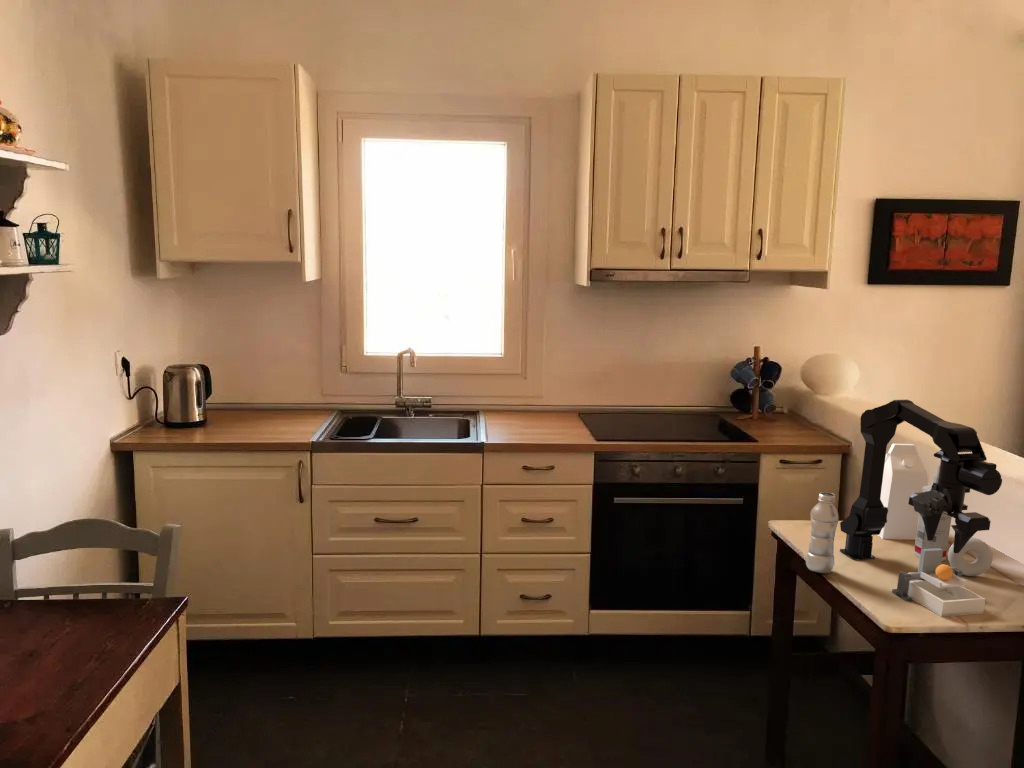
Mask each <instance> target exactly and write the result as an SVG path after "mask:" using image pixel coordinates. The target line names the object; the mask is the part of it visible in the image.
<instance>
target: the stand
mask: <svg viewBox="0 0 1024 768" xmlns="http://www.w3.org/2000/svg"><path fill="white" fill-rule="evenodd" d="M950 568H951V569H952V570H954V571H955V575H956V576H958V577H960V578H962V579H963V575H962V572H963V571H961V570H959V569H957V568H953V567H950ZM908 573H909V572H906V571H905V570H904V571H899V572H898V578H897V586H896V588H892V590H891V593H892V594H893V595H896V596H897V597H899V598H900V599H902V600H904V601H905V602H906V601H909V602H913V599H912V597H910V596H908V590H909V582H910V574H908Z"/></svg>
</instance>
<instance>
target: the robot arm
mask: <svg viewBox="0 0 1024 768" xmlns="http://www.w3.org/2000/svg"><path fill="white" fill-rule="evenodd" d="M905 422H906V423H908V424H909V425H911V426H913V427H914V428H917V430H919V431H921V432H923V433H924V434H926V435H928V436H930V437H931V438H932V442H933V443H934V444H935V445H936V446H937V447H938V448H939V449H940V450H939V451H936V452H935V453H934V454H933V456H934V457H935V458H937V459H940V464H939V465H940V470H939V477H938V483H933V482H932V484H933V485H932V484H931V485H932V488H931V490H930V491H927V492H922V493H913V494H912V495H911V496H910V497H909V503H908V504H909V505H912V506H914V510H915V511H916V512H918V513H919V514H920V515H921V516H922V519H923V522H924V526H925V530H926V535H927V539H928V540H933V538H934V536H935V533H936V530H937V527H938V524H939V521H940V518H941V515H942V513H944V514H946V515H949V516H951V517H952V518H953V519H955V520H954V523H955V524H952V525H950V527H952V529H953V531H954V538H953V543H954V553H959V552H960V551H961V549H962V548H963V547H964V546H965V544H966V543H967V542H968V541H969V539H970V538H971V537H973V536H974V535H975V534H977V532H980V531H990V528H991V523H992V522H991V520H990V518H989V516H985V515H984V514H982V513H979V512H976V511H974V512H973V511H972V512H964V511H968V505H967V504H965V497H966V494H968V493H971V490H973V491H975V492H978V493H981V494H983V495H986V496H992V495H994V494H996V493H997V492H998V491H999V489H1000V488H1002V487H1001V486H1002V483H1003V479H1002V475H1001V473H1000V472H999V471H998V470H997V463H993V462H989V461H987V460H988V459H987V456H986V454H985V453H986V452H985V451H984V449H983V446H982V444H981V441H980V438H979V437H978V432H977V431H976V429H975V428H973V427H971V426H967V425H964V424H961V423H957V422H951V421H947V420H945V419H942V418H941V417H939V416H937V414H933V413H932V412H930V411H928V410H926V409H924V408H923V407H921V406H919V405H917V404H915V403H914V402H913V401H912V400H910V399H893V400H891V401H889V402H888V403H886V404H883V405H879V406H877V407H874V408H872V409H866V410H865V411H864V412H862V413H861V416H860V434H861V435H862V437H863V440H864V441H865V442H864V443H865V446H864V453H863V463H862V470H861V471H862V472H861V479H860V487H859V489H860V490H859V494H858V497H857V499H856V500H855V501H854V502H853V504H852V505H851V507H850V512H849V515H848V516H847V517H845V519H843V520H842V521H841V522H840V523H839V524H840V526H839V527H840V532H842V533H845V534H846V538H845V547H844V548H840V549H839V552H841V553H842V554H844V555H846V556H847V557H848V558H850V559H852V560H854V561H859V560H875V559H876V556H875V555H873V554H872V552H873V551H872V550H873V537H874V536H875V535H876V536H878V535H879V534H880V532H881V530H882V528H884V526H885V523H887V513H888V508H887V507H884V506H883V504H882V502H881V499H880V497H881V489H882V481H883V473H884V465H885V456H886V454H887V447H888V444H889V443H890V442H891V441H892V439H893V438H894V437H895V434H896V431H897V427H898V425H901V424H902V423H905Z"/></svg>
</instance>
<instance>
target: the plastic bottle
mask: <svg viewBox="0 0 1024 768" xmlns="http://www.w3.org/2000/svg"><path fill="white" fill-rule="evenodd" d="M817 501H818V503H817V504H816V505H814V506H813V507H812V508H811V511H810V539H809V544H808V551H807V552H806V553H807V554H806V557H805V565H806V567H807V569H808V570H809V571H812V572H815V573H818V574H829V573H831V572H832V571H833V569H834V566H835V555H834V551H835V550H834V548H835V546H834V544H835V542H834V541H835V537H836V535H835V534H836V530H837V527H838V523H839V519H840V516H839V515H840V514H839V512H838V510H837V508H836V507H835V505H834V504H836V494H834V493H833V492H828V491H827V492H826V491H822V492H821V491H820V492H819V493H818V498H817Z"/></svg>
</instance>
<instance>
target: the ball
mask: <svg viewBox="0 0 1024 768" xmlns="http://www.w3.org/2000/svg"><path fill="white" fill-rule="evenodd" d="M951 568H952V567H950V566H949V565H947V564H945V563H944V564H942V563H941V565H939V566H938V567H937V568H936V571H935V572H936V575H937V577H938V578H940V579H942V580H948V579H950V578H951V577H952V575H953V571H952V569H951Z"/></svg>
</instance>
